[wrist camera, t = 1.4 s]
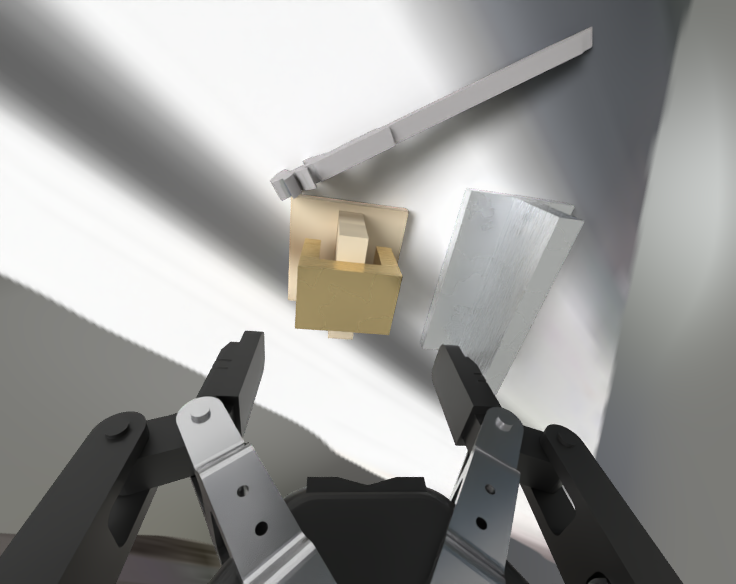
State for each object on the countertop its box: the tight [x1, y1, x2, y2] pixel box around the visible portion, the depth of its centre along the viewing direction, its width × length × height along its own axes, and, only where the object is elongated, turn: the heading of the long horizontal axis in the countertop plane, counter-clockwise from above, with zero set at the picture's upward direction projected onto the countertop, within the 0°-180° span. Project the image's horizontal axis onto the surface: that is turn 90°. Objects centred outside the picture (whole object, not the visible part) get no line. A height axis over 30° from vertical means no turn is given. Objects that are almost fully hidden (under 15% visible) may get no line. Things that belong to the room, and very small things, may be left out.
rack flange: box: [420, 188, 584, 394], centre depth 23 cm, size 14×8×6 cm, turn 171°
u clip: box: [295, 238, 403, 335], centre depth 19 cm, size 4×6×4 cm
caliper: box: [270, 27, 592, 201], centre depth 17 cm, size 20×1×6 cm, turn 112°
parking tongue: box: [288, 194, 409, 340], centre depth 21 cm, size 8×8×6 cm
